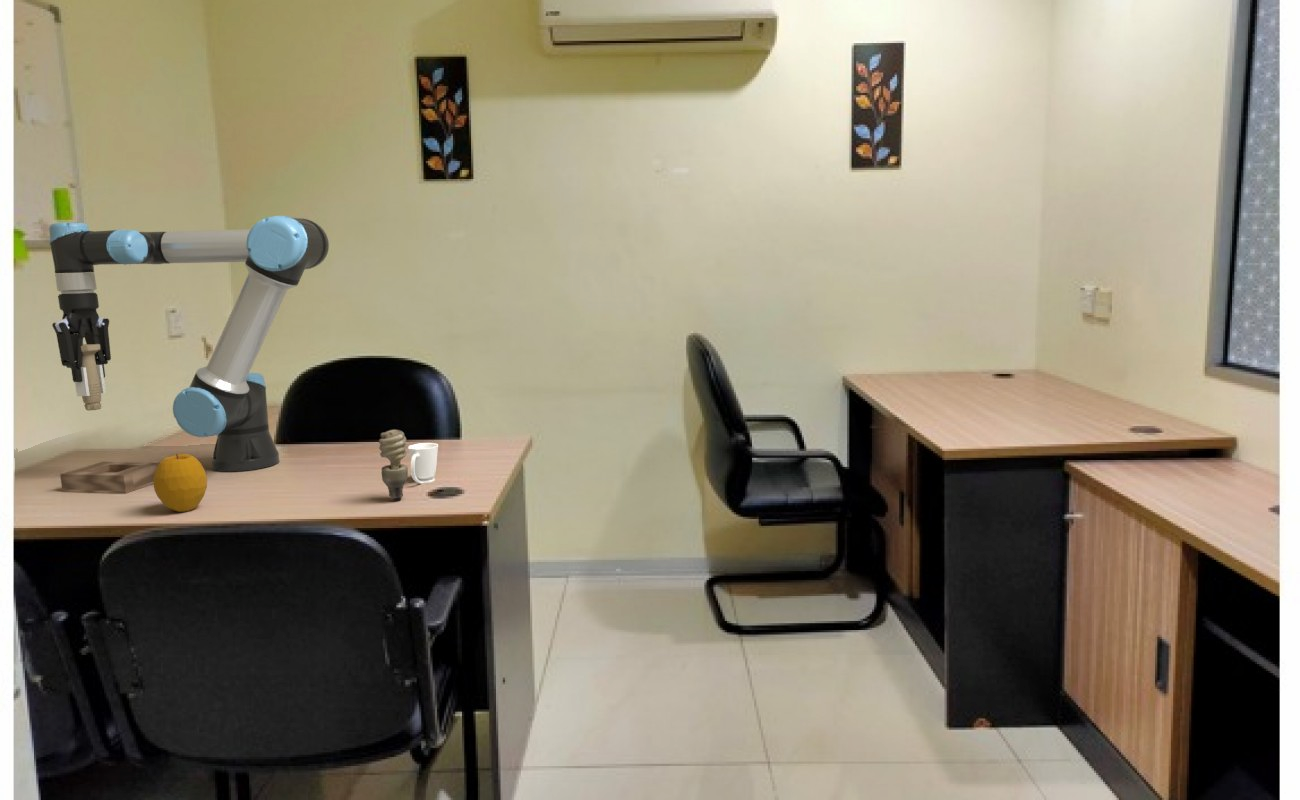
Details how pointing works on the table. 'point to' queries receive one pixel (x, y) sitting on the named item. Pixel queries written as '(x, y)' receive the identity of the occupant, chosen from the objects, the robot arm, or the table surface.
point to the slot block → (109, 477)
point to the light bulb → (394, 462)
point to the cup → (423, 461)
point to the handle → (91, 377)
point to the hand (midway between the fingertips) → (91, 394)
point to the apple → (180, 482)
